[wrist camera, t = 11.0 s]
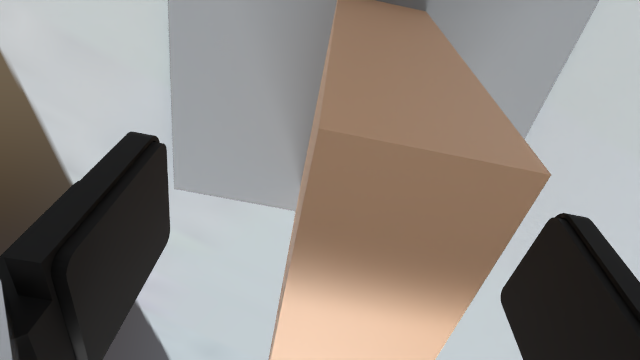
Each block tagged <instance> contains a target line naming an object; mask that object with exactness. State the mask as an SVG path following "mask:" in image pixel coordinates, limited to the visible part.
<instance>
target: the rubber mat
mask: <svg viewBox="0 0 640 360" xmlns="http://www.w3.org/2000/svg"><path fill="white" fill-rule="evenodd" d="M376 1H380V2H385V3H390V4H394V5H399V6H403V7H408V8H412V9H417V10H422V11H426V12H427V13H428V15H429V16H430V17H431V18H432V20H433V21H434V22H435V24H436V25H437V26H438V28H439V29H440V30H441V32H442V33H443V34H444V35H445V37H446V38H447V39H448V41H449V42H450V43H451V45H452V46H453V47H454V48H455V50H456V51H457V52H458V54H459V55H460V56H461V58H462V59H463V60H464V62H465V63H466V64H467V65H468V67H469V68H470V69H471V71H472V72H473V73H474V75H475V76H476V77H477V79H478V80H479V81H480V82H481V84H482V85H483V86H484V88H485V89H486V90H487V92H488V93H489V94H490V96H491V97H492V98H493V99H494V101H495V102H496V103H497V105H498V106H499V107H500V109H501V110H502V111H503V113H504V114H505V115H506V116H507V118H508V119H509V120H510V122H511V123H512V124H513V126H514V127H515V128H516V129H517V131H518V132H519V133H520V135H521V136H522V137H523V139H525V137H526V135H527V134H528V132H529V130H530V128H531V126H532V124H533V122H534V121H535V119H536V117H537V115H538V113H539V111H540V109H541V108H542V106H543V104H544V102H545V100H546V98H547V97H548V95H549V93H550V91H551V89H552V87H553V85H554V84H555V82H556V80H557V78H558V76H559V74H560V72H561V71H562V69H563V67H564V65H565V63H566V61H567V59H568V58H569V56H570V54H571V52H572V50H573V48H574V47H575V45H576V43H577V41H578V39H579V37H580V35H581V34H582V32H583V30H584V28H585V26H586V24H587V22H588V21H589V19H590V17H591V15H592V13H593V11H594V10H595V8H596V6H597V4H598V2H599V0H376ZM336 3H337V0H168V19H169V49H170V78H171V108H172V138H173V168H174V189H177V190H183V191H188V192H193V193H199V194H204V195H210V196H215V197H221V198H226V199H232V200H237V201H243V202H248V203H254V204H259V205H265V206H270V207H275V208H281V209H286V210H292V211H296V207H297V202H298V196H299V191H300V185H301V180H302V175H303V170H304V165H305V160H306V155H307V150H308V145H309V140H310V135H311V130H312V125H313V120H314V115H315V110H316V104H317V99H318V94H319V89H320V84H321V79H322V74H323V69H324V64H325V59H326V54H327V49H328V44H329V39H330V34H331V29H332V24H333V19H334V14H335V9H336Z"/></svg>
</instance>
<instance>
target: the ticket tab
mask: <svg viewBox="0 0 640 360" xmlns="http://www.w3.org/2000/svg"><path fill="white" fill-rule="evenodd" d="M550 176H551V174H550V173H549V171H548V170H547V169H546V167H545V166H544V165H543V163H542V162H541V161H540V160H539V158H538V157H537V156H536V154H535V153H534V152H533V150H532V149H531V148H530V146H529V145H528V144H527V143H526V141H525V140H524V139H523V137H522V136H521V135H520V133H519V132H518V131H517V129H516V128H515V127H514V126H513V124H512V123H511V122H510V120H509V119H508V118H507V116H506V115H505V114H504V113H503V111H502V110H501V109H500V107H499V106H498V105H497V103H496V102H495V101H494V99H493V98H492V97H491V96H490V94H489V93H488V92H487V90H486V89H485V88H484V86H483V85H482V84H481V82H480V81H479V80H478V79H477V77H476V76H475V75H474V73H473V72H472V71H471V69H470V68H469V67H468V65H467V64H466V63H465V62H464V60H463V59H462V58H461V56H460V55H459V54H458V52H457V51H456V50H455V48H454V47H453V46H452V45H451V43H450V42H449V41H448V39H447V38H446V37H445V35H444V34H443V33H442V32H441V30H440V29H439V28H438V26H437V25H436V24H435V22H434V21H433V20H432V18H431V17H430V16H429V15H428V13H427V12H426V11H422V10H417V9H412V8H408V7H403V6H399V5H394V4H390V3H385V2H380V1H376V0H337V3H336V9H335V14H334V19H333V24H332V29H331V34H330V39H329V44H328V49H327V54H326V59H325V64H324V69H323V74H322V79H321V84H320V89H319V94H318V99H317V104H316V110H315V115H314V120H313V125H312V130H311V135H310V140H309V145H308V150H307V155H306V160H305V165H304V170H303V175H302V180H301V185H300V191H299V196H298V202H297V207H296V213H295V218H294V224H293V229H292V234H291V240H290V245H289V251H288V256H287V262H286V267H285V273H284V278H283V284H282V289H281V295H280V300H279V305H278V311H277V316H276V322H275V327H274V333H273V338H272V344H271V349H270V355H269V360H435V359H436V357H437V356H438V354H439V353H440V351H441V349H442V348H443V346H444V345H445V343H446V341H447V340H448V338H449V337H450V335H451V333H452V332H453V330H454V329H455V327H456V326H457V324H458V322H459V321H460V319H461V318H462V316H463V314H464V313H465V311H466V310H467V308H468V306H469V305H470V303H471V302H472V300H473V298H474V297H475V295H476V294H477V292H478V291H479V289H480V287H481V286H482V284H483V283H484V281H485V279H486V278H487V276H488V275H489V273H490V271H491V270H492V268H493V267H494V265H495V264H496V262H497V260H498V259H499V257H500V256H501V254H502V252H503V251H504V249H505V248H506V246H507V244H508V243H509V241H510V240H511V238H512V236H513V235H514V233H515V232H516V230H517V229H518V227H519V225H520V224H521V222H522V221H523V219H524V217H525V216H526V214H527V213H528V211H529V209H530V208H531V206H532V205H533V203H534V201H535V200H536V198H537V197H538V195H539V194H540V192H541V190H542V189H543V187H544V186H545V184H546V182H547V181H548V179H549V178H550Z"/></svg>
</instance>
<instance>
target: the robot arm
mask: <svg viewBox="0 0 640 360" xmlns="http://www.w3.org/2000/svg"><path fill="white" fill-rule="evenodd" d="M169 234H170V217H169V195H168V172H167V150H166V146H165V144H162V143H159V139H158V137H156V136H153V135H147V134H142V133H137V132H129V133H128V134H127V135H126V136H125V137H124V138H123V139H122V140H121V141H120V142H119V143H118V144H117V145H116V146H115V147H113V148H112V149H111V150H110V151H109V152H108V153H107V154H106V155H105V156H104V157H103V158H102V159H101V160H100V161H99V162H98V163H97V164H96V165H95V166H94V167H93V168H92V169H91V170H90V171H89V172H88V173H87V174H86V175H85V176H84V177H83V178H82V179H81V180H80V181H78V182H76V183H75V184H74V185H72V186H71V187H70V188H69V189H68V190H67V191H66V192H65V193H64V194H63V195H62V196H61V197H60V198H59V199H58V200H57V201H56V202H55V203H54V204H53V205H52V206H51V207H50V208H49V209H48V210H47V211H46V212H45V213H44V214H43V215H42V216H41V217H40V218H39V219H38V220H37V221H36V222H35V223H34V224H33V225H32V226H30V228H28V230H26V231H25V233H23V234H22V235H21V236H20V237H19V238H18V239H17V240H16V241H15V242H14V243H13V244H12V245H11V246H10V247H9V248H8V249H7V250H6V251H5V252H4V253H3V254H2V255H1V256H0V360H102V359H103V358H104V356H105V354H106V352H107V351H108V349H109V347H110V345H111V343H112V342H113V340H114V338H115V336H116V334H117V333H118V331H119V329H120V327H121V325H122V324H123V321H124V320H125V318H126V316H127V315H128V313H129V311H130V309H131V307H132V305H133V304H134V302H135V300H136V298H137V296H138V295H139V293H140V291H141V289H142V287H143V286H144V284H145V282H146V280H147V278H148V277H149V275H150V273H151V271H152V269H153V268H154V266H155V264H156V262H157V260H158V259H159V257H160V255H161V253H162V251H163V250H164V248H165V246H166V244H167V242H168V239H169ZM501 303H502V306H503V309H504V311H505V314H506V316H507V319H508V322H509V324H510V327H511V329H512V332H513V334H514V337H515V340H516V342H517V345H518V347H519V350H520V353H521V355H522V358H523V360H640V282H639V281H638V280H637V278H636V277H635V276H634V275H633V273H632V272H631V271H630V269H629V268H628V267H627V266H626V264H625V263H624V262H623V260H622V259H621V258H620V257H619V255H618V254H617V253H616V252H615V250H614V249H613V248H612V246H611V245H610V244H609V243H608V241H607V240H606V239H605V237H604V236H603V235H602V234H601V232H600V231H599V230H598V228H597V227H596V226H595V225H594V223H593V222H592V221H591V220H590V219H589V218H586V217H581V216H576V215H571V214H566V213H562V214H559V215H557V216H556V217H555V218H551V219H549V221H548V222H547V223H546V225H545V226H544V228H543V229H542V231H541V232H540V234H539V235H538V237H537V238H536V240H535V241H534V243H533V244H532V246H531V247H530V249H529V250H528V252H527V253H526V255H525V256H524V258H523V259H522V261H521V262H520V264H519V265H518V267H517V268H516V270H515V271H514V273H513V274H512V276H511V277H510V279H509V280H508V281H507V283H506V284H505V286H504V287H503V289H502V292H501Z"/></svg>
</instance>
